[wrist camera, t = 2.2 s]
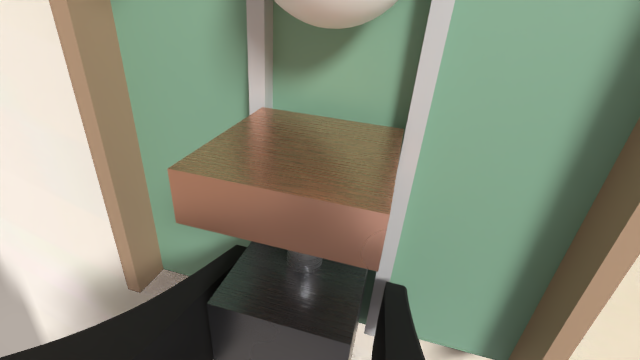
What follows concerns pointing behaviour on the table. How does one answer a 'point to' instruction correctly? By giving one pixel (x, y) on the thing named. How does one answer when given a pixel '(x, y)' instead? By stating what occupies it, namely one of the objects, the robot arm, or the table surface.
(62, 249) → the table surface
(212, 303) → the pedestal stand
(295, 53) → the pitch
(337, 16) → the ball
